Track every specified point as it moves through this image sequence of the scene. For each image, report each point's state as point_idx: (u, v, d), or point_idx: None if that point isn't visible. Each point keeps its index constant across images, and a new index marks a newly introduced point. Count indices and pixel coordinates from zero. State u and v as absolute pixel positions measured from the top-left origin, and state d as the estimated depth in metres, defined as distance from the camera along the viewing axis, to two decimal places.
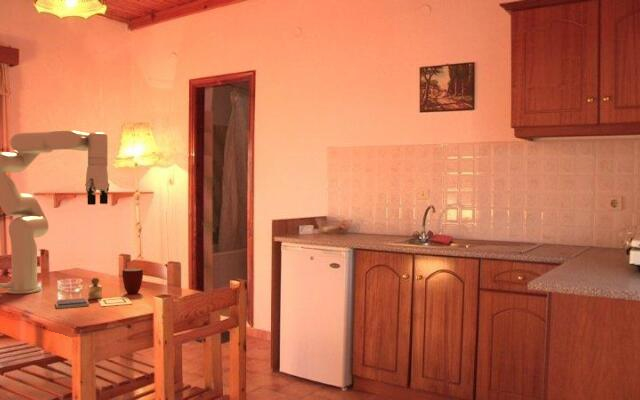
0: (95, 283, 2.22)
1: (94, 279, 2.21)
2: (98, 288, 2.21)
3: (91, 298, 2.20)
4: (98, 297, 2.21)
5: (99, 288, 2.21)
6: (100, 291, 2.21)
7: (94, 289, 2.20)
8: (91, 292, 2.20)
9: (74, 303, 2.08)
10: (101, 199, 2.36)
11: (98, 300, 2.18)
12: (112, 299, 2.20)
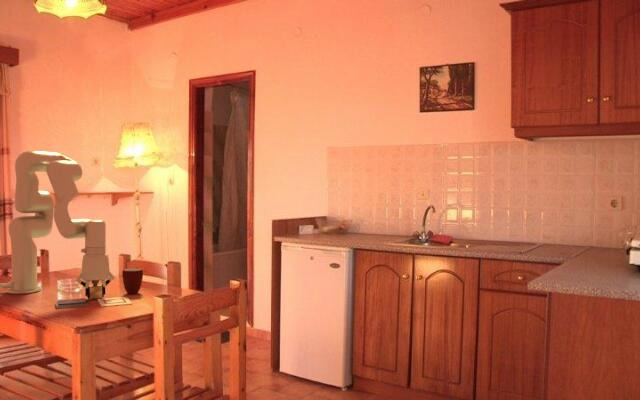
0: (95, 283, 2.22)
1: None
2: (98, 288, 2.21)
3: (91, 298, 2.20)
4: (98, 297, 2.21)
5: (99, 288, 2.21)
6: (100, 291, 2.21)
7: (94, 289, 2.20)
8: (91, 292, 2.20)
9: (74, 303, 2.08)
10: (89, 293, 2.21)
11: (98, 300, 2.18)
12: (112, 299, 2.20)
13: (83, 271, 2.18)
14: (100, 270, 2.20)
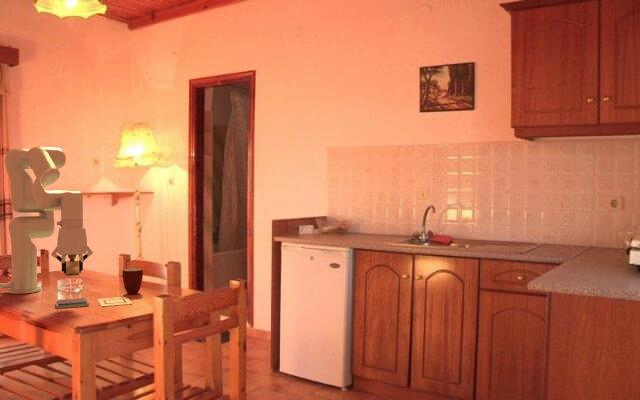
0: (72, 258, 2.10)
1: None
2: (75, 263, 2.09)
3: (67, 273, 2.08)
4: (75, 272, 2.09)
5: (76, 263, 2.10)
6: (77, 266, 2.10)
7: (71, 264, 2.09)
8: (67, 267, 2.08)
9: (74, 303, 2.08)
10: (65, 268, 2.09)
11: (98, 300, 2.18)
12: (112, 299, 2.20)
13: (59, 245, 2.06)
14: (77, 244, 2.09)
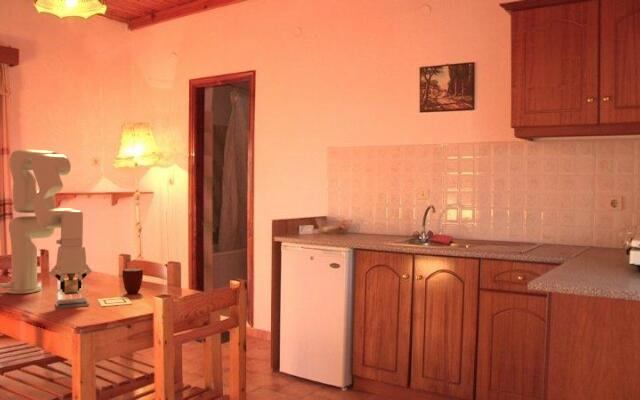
0: (71, 276, 2.11)
1: None
2: (74, 282, 2.10)
3: (66, 292, 2.09)
4: (73, 291, 2.10)
5: (75, 282, 2.10)
6: (76, 285, 2.11)
7: (69, 283, 2.09)
8: (66, 286, 2.09)
9: (74, 303, 2.08)
10: (64, 286, 2.10)
11: (98, 300, 2.18)
12: (112, 299, 2.20)
13: (58, 263, 2.07)
14: (76, 263, 2.09)
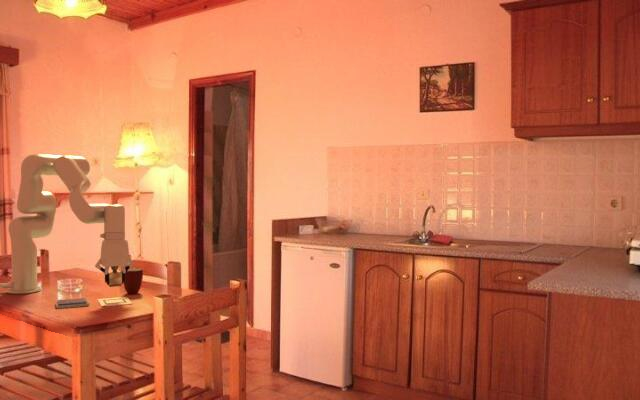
0: (115, 269, 2.16)
1: None
2: (118, 274, 2.15)
3: (111, 284, 2.14)
4: (118, 283, 2.16)
5: (119, 274, 2.16)
6: (120, 277, 2.16)
7: (114, 275, 2.15)
8: (111, 278, 2.14)
9: (74, 303, 2.08)
10: None
11: (98, 300, 2.18)
12: (112, 299, 2.20)
13: (102, 257, 2.12)
14: (120, 256, 2.15)
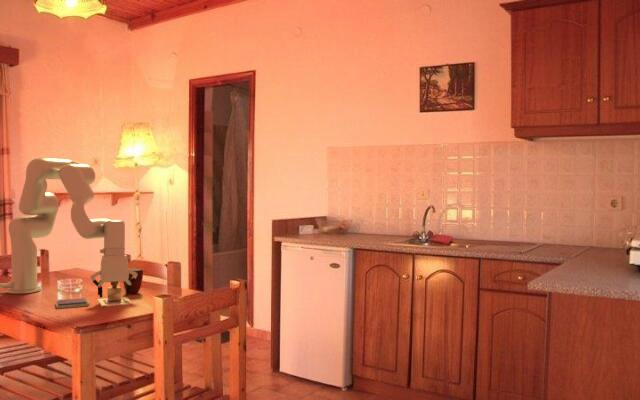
0: (114, 285, 2.16)
1: None
2: (117, 290, 2.16)
3: (110, 300, 2.15)
4: (117, 299, 2.16)
5: (118, 290, 2.16)
6: (119, 293, 2.16)
7: (113, 291, 2.15)
8: (110, 294, 2.15)
9: (74, 303, 2.08)
10: None
11: (98, 300, 2.18)
12: None
13: (102, 272, 2.13)
14: (119, 271, 2.15)
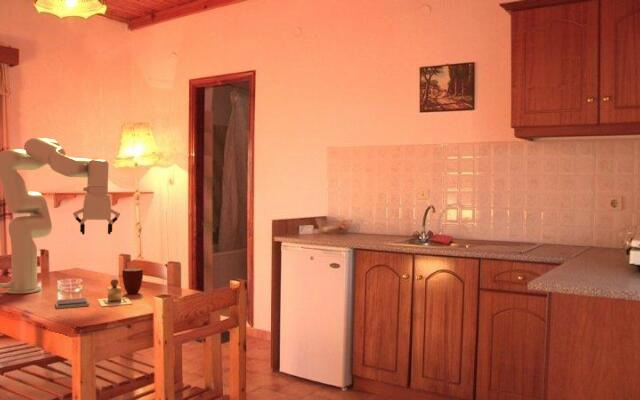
0: (114, 285, 2.16)
1: (113, 281, 2.16)
2: (117, 290, 2.16)
3: (110, 300, 2.15)
4: (117, 299, 2.16)
5: (118, 290, 2.16)
6: (119, 293, 2.16)
7: (113, 291, 2.15)
8: (110, 294, 2.15)
9: (74, 303, 2.08)
10: None
11: (98, 300, 2.18)
12: None
13: (85, 209, 2.18)
14: (102, 209, 2.21)
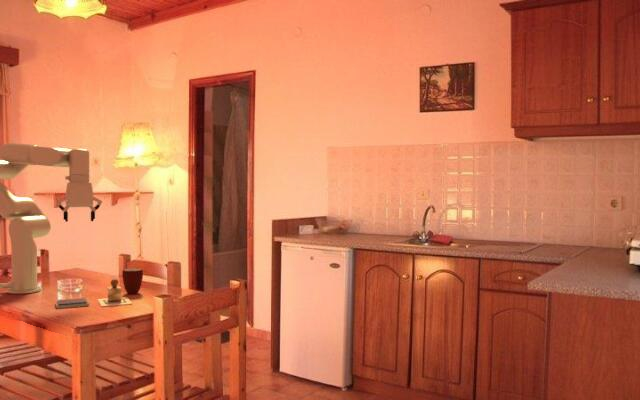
0: (114, 285, 2.16)
1: (113, 281, 2.16)
2: (117, 290, 2.16)
3: (110, 300, 2.15)
4: (117, 299, 2.16)
5: (118, 290, 2.16)
6: (119, 293, 2.16)
7: (113, 291, 2.15)
8: (110, 294, 2.15)
9: (74, 303, 2.08)
10: (67, 217, 2.26)
11: (98, 300, 2.18)
12: None
13: (67, 197, 2.25)
14: (84, 197, 2.27)
